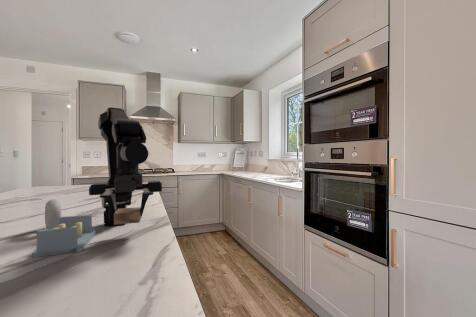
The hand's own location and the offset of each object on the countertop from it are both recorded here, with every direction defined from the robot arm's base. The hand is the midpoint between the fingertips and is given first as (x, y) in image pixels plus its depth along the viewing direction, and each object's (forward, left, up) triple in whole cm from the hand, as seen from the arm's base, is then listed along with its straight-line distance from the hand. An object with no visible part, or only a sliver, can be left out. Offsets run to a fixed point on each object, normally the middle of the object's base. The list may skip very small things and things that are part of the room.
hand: (128, 216), depth 68 cm
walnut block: (0, 0, -1) cm, 1 cm away
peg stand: (+15, 0, -6) cm, 16 cm away
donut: (+24, -15, -6) cm, 29 cm away
